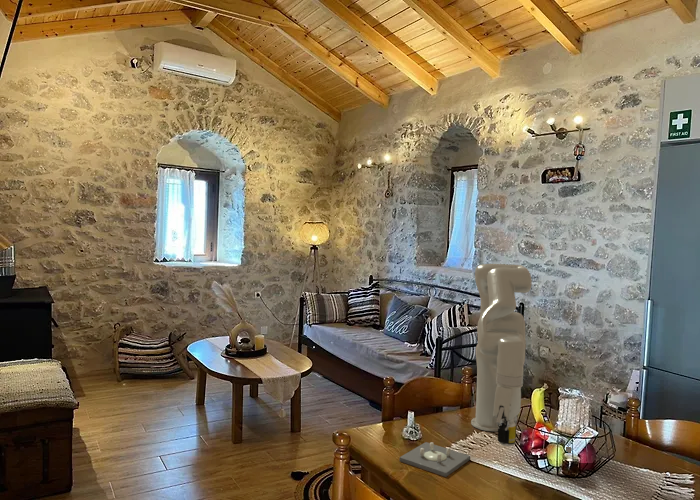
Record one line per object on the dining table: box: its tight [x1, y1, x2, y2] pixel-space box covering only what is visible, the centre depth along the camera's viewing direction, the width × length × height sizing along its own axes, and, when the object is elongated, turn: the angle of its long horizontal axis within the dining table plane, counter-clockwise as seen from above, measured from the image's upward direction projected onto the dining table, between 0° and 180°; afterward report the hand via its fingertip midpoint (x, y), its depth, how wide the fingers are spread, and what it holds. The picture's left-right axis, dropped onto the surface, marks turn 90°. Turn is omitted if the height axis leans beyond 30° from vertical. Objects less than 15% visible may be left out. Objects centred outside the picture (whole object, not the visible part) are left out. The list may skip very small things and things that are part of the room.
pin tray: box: [399, 441, 471, 478], centre depth 166 cm, size 16×16×4 cm
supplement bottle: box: [498, 417, 517, 447], centre depth 159 cm, size 5×5×8 cm
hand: (506, 438), depth 159 cm, fingers closed on supplement bottle, 4 cm apart
